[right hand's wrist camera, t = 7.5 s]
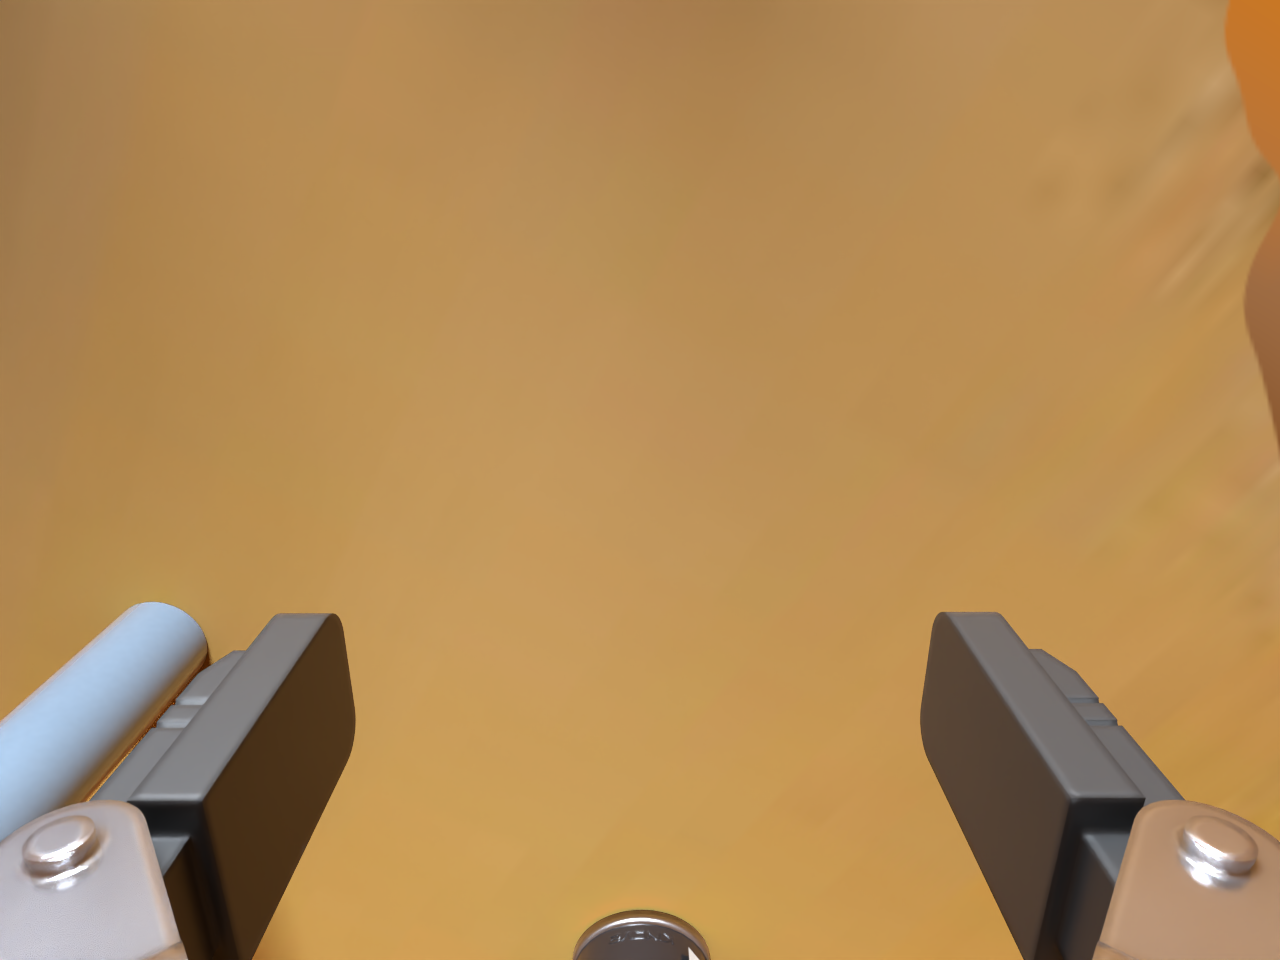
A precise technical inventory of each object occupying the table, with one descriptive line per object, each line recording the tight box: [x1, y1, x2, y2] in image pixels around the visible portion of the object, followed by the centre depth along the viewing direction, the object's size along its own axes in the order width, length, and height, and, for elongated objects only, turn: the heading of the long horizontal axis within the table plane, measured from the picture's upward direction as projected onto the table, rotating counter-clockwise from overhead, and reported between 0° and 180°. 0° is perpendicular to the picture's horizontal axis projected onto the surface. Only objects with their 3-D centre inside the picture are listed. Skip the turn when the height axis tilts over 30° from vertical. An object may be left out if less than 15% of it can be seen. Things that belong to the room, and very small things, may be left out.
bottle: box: [0, 602, 207, 842], centre depth 39 cm, size 5×5×22 cm
